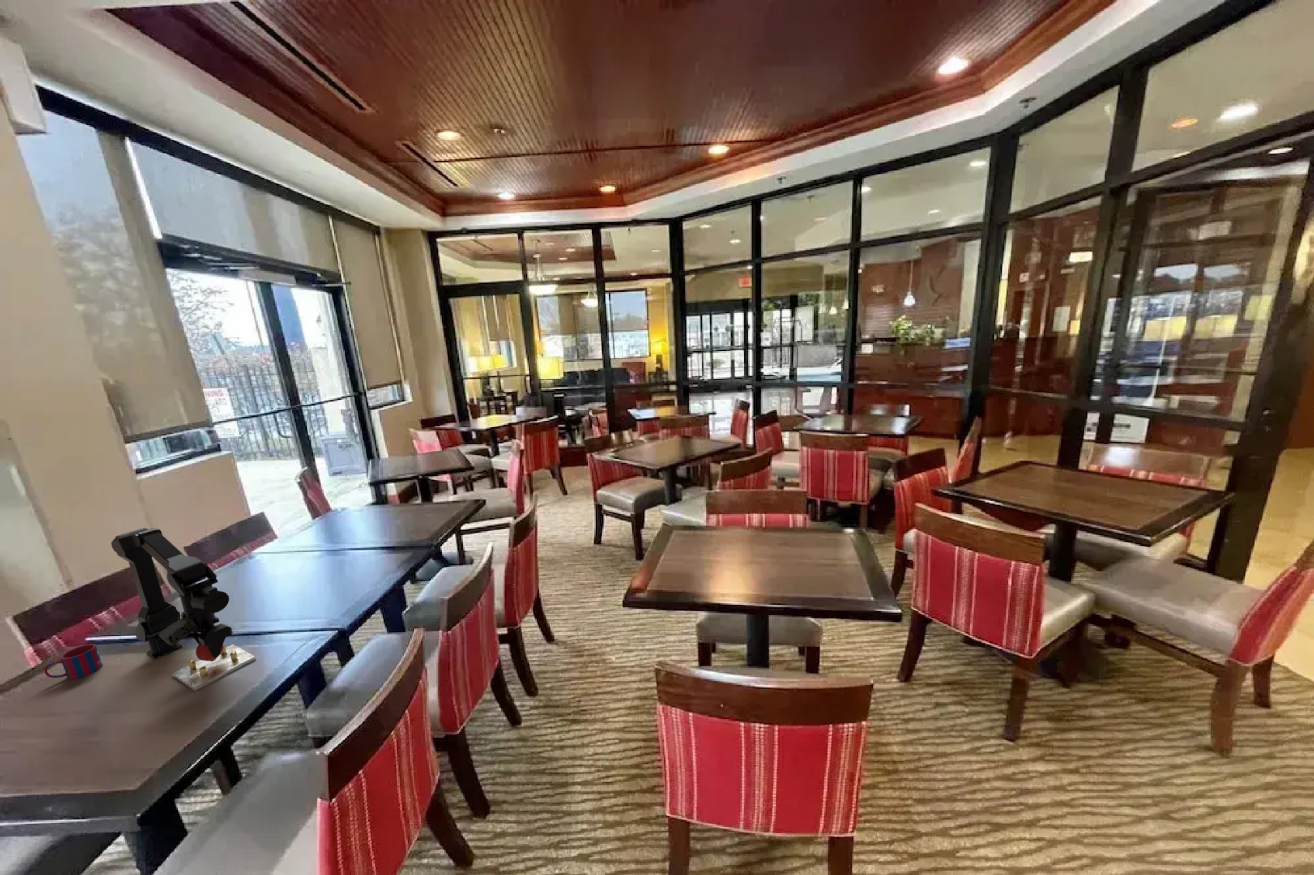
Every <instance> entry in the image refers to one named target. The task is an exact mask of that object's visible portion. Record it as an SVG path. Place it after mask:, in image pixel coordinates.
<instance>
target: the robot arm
mask: <svg viewBox="0 0 1314 875" xmlns="http://www.w3.org/2000/svg"><path fill="white" fill-rule="evenodd" d="M110 543H111V548H112V550H113V551H114V552H115V553H116V555H117V556H118V557H119V558H121V559H123V560H125V561H126V562H128V565H129V568H130V571H131V574H132V577H133V581H134V583H135V586H136V590H137V594H138V596H139V599H140V602H141V603H140V604H141V608H140V610H139V612H138V613H137V614H138V615H137V616H136V618H137V622H138V624H137V625H136V628H135V630H134V636H135V637H136V640H138V641H141V642H143V643H146V642H147V645H148V648H149V650H148V651H147V652H146V655H147V656H149V657H151V658H152V659H154V660H155V659H158V658H160V657H163V656H165V655H167V654H170V653H171V652H174V651H175V650H178V649H180V648H182V647H183V644H181V643H180V642H181V641H182V640H183V639H185V638H186V637H189V638H193V639H194V641H195V642H196V644H197V646H198V645H199V644H201V645H204V646H207V647H208V649H209V651H210V653H211V654H212V656H213V657H214V658H216V657H218V656H219V655H220V652H221V649H222V646H223V645H224V642H225V641H226V638H228V637H230V636H232V635H233V634H234V632H233V629H232V627H231V626H229V625H228V624H224V623H220V618H218V617H217V616H216V613H219V612H221V611H223V610H224V609H225V608H226V607H227V606H228V604H229V601H230V597H229V596H230V595H229V594H228V593H226V591H222V590H218V587H216V586H213V585H215V584H217V583H219V580H218V579H217V577H218V576H217V574H216V573H215V572H214V570H212V568H211V567H210V566H209V565H208V564H207V563H205V562H203V561H202V560H200V559H199V558H198V557H196V556H190V555H189V556H188V555H185V554H184V553H183V552H182V551H181V550H179V549H178V548H177V547H176V546H175V545H174V544H173V543H172V542H171V541H170V540H168V539H167V538H166V537H165V536H164V535H163V532H162V530H161V529H160V528H159V527H153V528H147V527H141V528H139V529H135V530H132V531H128V532H126V533H122V534H119V535H116V536H115V537H114V538H113V539H112V541H111V542H110ZM153 559H154V560H155V561H156V562H157V563H159V564H160V566H162V567H163V568H164V570H166V571H167V572H166V580H167V582H168V584H169V585H170V587H172V589H174V590H175V591H176V593H177V594H178V595H179V599H180V602H181V605H182V610H183V611H182V612H180V611H179V610H178V609H177V607H176V606H175V605H173V604H171V603H170V602H167V601H166V600H165V597H164V594H163V590H162V587H161V583H160V581H159V577H158V573H157V570H156V567H155V566H156V565H155V564H154V561H153ZM217 623H219V624H217ZM216 624H217V625H216Z"/></svg>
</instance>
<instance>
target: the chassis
mask: <svg viewBox="0 0 1314 875" xmlns="http://www.w3.org/2000/svg"><path fill="white" fill-rule="evenodd" d="M223 646H224V648H223V651H222V653H221V654H220V655H219V656H218V657H217V658H216V660H214V661H203V660H200V659H199V660H197V661H196V659H191V660H189V661H188V662H187V664H188V665H186V666H184V667H183V668H181V669H178V670H176V671H174V672H172V676H173V678H175V679H176V680H178V681H180V682H181V683H182V684H184V685H185V686H187V687H188V688H190V689H191V690H192V691H194V692H196V691H197V690H200V689H201V688H203V687H205V686H207V685H209V684H211V683H213V682H215V681H217V680H219V679H220V678H221V679H222V677H224V676H226V675H228V674H229V675H230V674H231V673H232V672H234V671H236V670H238V669H240V668H242V667H244V666H246V665H248V664H251V662H253V661H256V660H257V659H256V656H255V655H253V654H251V653H250V652H248V651H245V650H244V649H242V648H241V647H239V646H236V645H235V644H231V645H228V646H226V645H224V644H223Z"/></svg>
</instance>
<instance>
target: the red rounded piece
mask: <svg viewBox="0 0 1314 875" xmlns="http://www.w3.org/2000/svg"><path fill="white" fill-rule="evenodd" d="M223 648H224V646H222V649H221V652H220V654H221V653H222V651H223ZM195 655H196V658H197V659H199V660H203V661H214V660H216V658H217V657H216V658H214V657H213V656H212V654H211V653H210V651H209V649H208V647H207V646H204V645H201V644H199V645H198V644H197V647H196V649H195Z"/></svg>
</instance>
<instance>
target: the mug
mask: <svg viewBox="0 0 1314 875" xmlns="http://www.w3.org/2000/svg"><path fill="white" fill-rule="evenodd" d="M59 657H60V659H58V660H54V661H51V662H49V663H47V664H46V665H45V666H44V669H43V670H44V671H43V672H44V675H45V676H46V677H48V678H52V679H57V678H58V679H59V678H64V677H67V679H68V680H77V679H80V678H84V677H86V676H89V675H92V674H94V673H95V672H97V671H98V670H100V669H101V668H102V667H103V663H102V660H101V657H100V653H99V650H98V648H97V644H95V643H88V644H87V643H86V644H84V645H80V646H77V647H74V648H72V649H69V650H68V651H66V652H65V653H63V654H61V655H60V656H59ZM54 664H61V665H62V667H63V669H64V672H65V673H62V674H56V675H55V674H54V675H53V674H50V673H49V671H48V668H49V666H51V665H54Z"/></svg>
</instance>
